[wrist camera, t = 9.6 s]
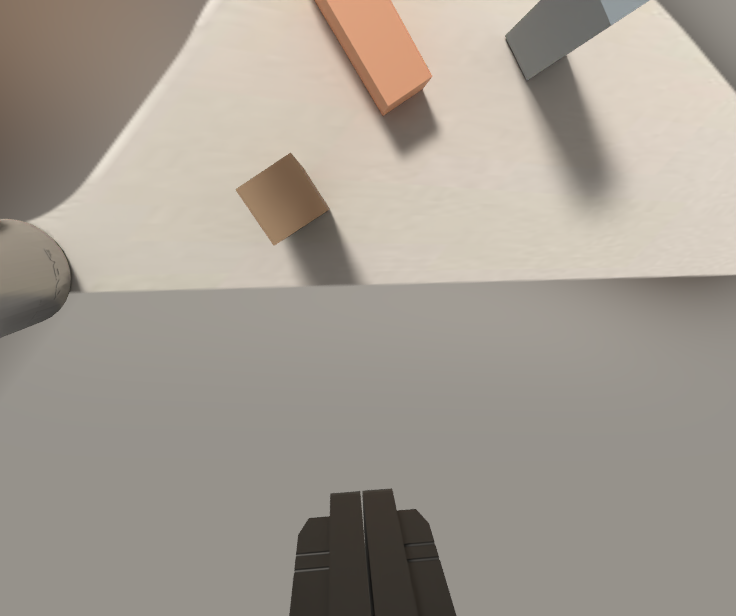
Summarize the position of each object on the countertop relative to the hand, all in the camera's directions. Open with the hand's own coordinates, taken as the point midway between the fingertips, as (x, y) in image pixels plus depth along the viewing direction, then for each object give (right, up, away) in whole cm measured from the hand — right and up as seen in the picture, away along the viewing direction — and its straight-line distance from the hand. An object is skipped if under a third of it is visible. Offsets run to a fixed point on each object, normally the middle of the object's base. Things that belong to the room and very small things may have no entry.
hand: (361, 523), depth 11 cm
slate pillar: (+14, +27, +27) cm, 41 cm away
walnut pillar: (-6, +14, +28) cm, 32 cm away
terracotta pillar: (+3, +22, +25) cm, 34 cm away
